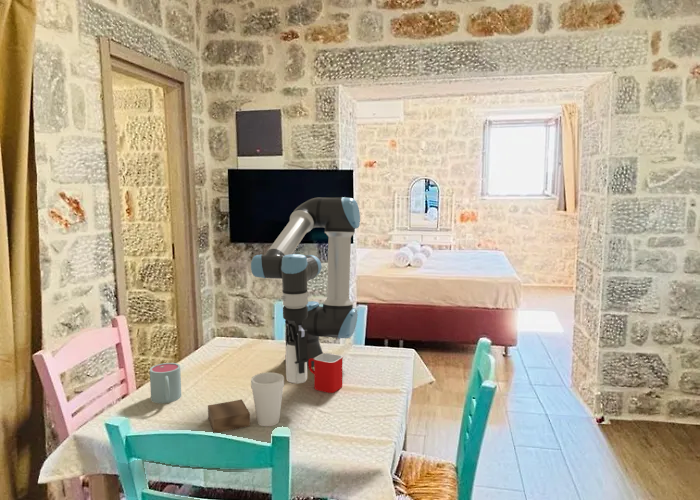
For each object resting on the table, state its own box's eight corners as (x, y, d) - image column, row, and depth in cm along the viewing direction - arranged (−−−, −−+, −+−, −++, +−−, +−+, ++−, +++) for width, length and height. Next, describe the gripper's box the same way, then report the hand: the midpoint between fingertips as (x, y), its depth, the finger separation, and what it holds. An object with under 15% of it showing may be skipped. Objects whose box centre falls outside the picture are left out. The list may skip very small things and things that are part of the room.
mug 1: (150, 394, 162) (149, 365, 161) (180, 390, 166) (179, 361, 165) (151, 411, 150) (150, 379, 149) (183, 406, 153) (182, 375, 152)
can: (303, 384, 148) (303, 346, 146) (283, 383, 149) (282, 345, 148) (309, 376, 154) (309, 339, 153) (290, 374, 156) (289, 338, 154)
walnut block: (242, 412, 149) (241, 399, 149) (249, 426, 140) (249, 412, 140) (208, 418, 145) (207, 405, 144) (214, 433, 136) (213, 419, 135)
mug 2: (344, 385, 170) (344, 355, 169) (332, 394, 162) (332, 363, 161) (315, 379, 175) (315, 350, 174) (302, 387, 168) (302, 357, 167)
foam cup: (254, 414, 148) (253, 372, 146) (285, 413, 148) (284, 371, 147) (250, 429, 138) (249, 385, 137) (283, 428, 139) (282, 384, 137)
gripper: (274, 300, 156) (276, 369, 159) (293, 314, 138) (295, 392, 142) (296, 297, 159) (298, 365, 162) (318, 311, 141) (319, 387, 145)
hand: (296, 378), depth 152 cm, fingers closed on can, 6 cm apart
